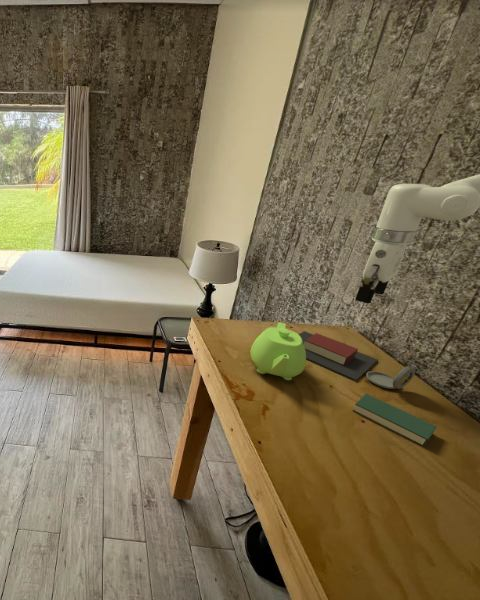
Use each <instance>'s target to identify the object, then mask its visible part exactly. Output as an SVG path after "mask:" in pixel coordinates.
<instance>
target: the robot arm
mask: <svg viewBox="0 0 480 600" xmlns="http://www.w3.org/2000/svg"><path fill="white" fill-rule="evenodd" d="M382 206H383V207H382V209H381V212H380V215H379V217H378V221H377V223H376V226H375V229H374V231H373V234H372V237H371V240H372V241H373V242H375V243H374V244H373V247H372V249H371V251H370V254H369V255H368V258H367V261H366V264H365V266H364V269H363V273H362V277H363V280H362V281H361V282H360V285H359V287H358V290H357V294H356V296H355V298H354V300H355V301H357V302H360V303H364V304H368V305H369V304H371V303H372V301H373V298H374V295H375V294H376V295H382V296H383V295H384V294H385V291H386V289H387V287H388V284H389V281H390V280H392V279H393V278H395V277H396V276H397V274H398V272H399V270H400V267H401V264H402V260H403V257H404V255H405V252H406V248H407V246H409V245H412V243H413V241H414V238H415V236H416V233H417V231H418V229H419V226H420V223H421V221H422V218H428V219H434V220H439V221H446V222H447V221H448V222H449V221H450V222H451V221H452V222H453V221H458V220H462V219H467V218H468V217H470V216H472V215H473V214H475V213H476V212H477V211H478V210H479V209H480V173H479V174H476V175H472V176H469V177H465V178H461V179H458V180H454V181H452V182H449V183H446V184H444V185H442V186H431V185H429V184H424V183H398V184H394V185H393V186H391V188H390V189H389V190H388V193H387V196H386V198H385V201H384V204H383V205H382Z"/></svg>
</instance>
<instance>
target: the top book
mask: <svg viewBox="0 0 480 600" xmlns="http://www.w3.org/2000/svg"><path fill="white" fill-rule="evenodd" d="M304 347H305V350H308V351H310V352H312V353H315V354H317V355H319V356H322V357H324V358H326V359H329V360H331V361H334V362H336V363H338V364H341V365H343V366H345V365H346V364H347V363H348V362H350V361H351V360H352V359H353V358H354V357H355V355H356V353H357V352H359V351H358V350H359V349H358V348H357V347H354V346H351V345H349V344H346V343H343V342H342V341H338V340H335V339H333V338H331V337H328V336H325V335H322V334H320V333H318V332H316V333H314V334H313V336H311V337H309V338H308V339H306V340H305V342H304Z"/></svg>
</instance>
